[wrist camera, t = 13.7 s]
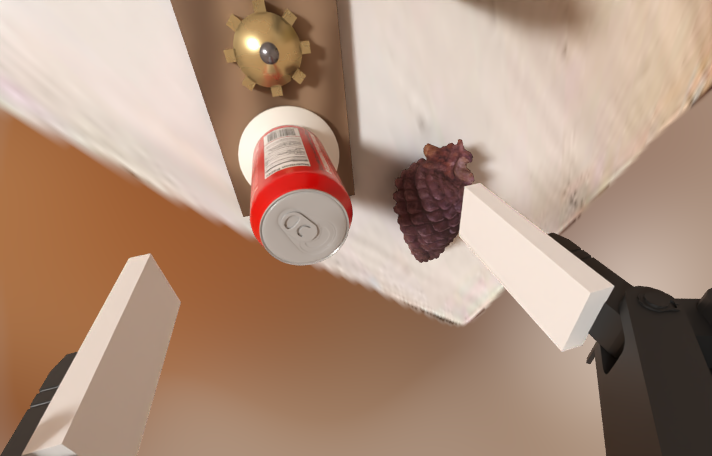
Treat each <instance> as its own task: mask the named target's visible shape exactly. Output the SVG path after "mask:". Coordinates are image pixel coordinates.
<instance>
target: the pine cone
mask: <svg viewBox="0 0 712 456" xmlns="http://www.w3.org/2000/svg"><path fill="white" fill-rule="evenodd" d="M424 155H425V156H426V158H427V160H425V159H423V158H421V159H419V160H418V161H417V163H412V164H411V165H410V168H409V169H407V170H406V169H405V170H403V171H402V173H401V178H397V179H395V186H396V187H397V189H398V191H396V192H395V193H394V194H393V199H394V200H396V201H397V203H396V205H395V207H394V208H393V209H394V212H395V213H396V214H398V215H399V216H398V220H397V221H398V223H399V224H400V230H401V231H402V232H403V234H404V240H405V242H406V243H407V244H408V246H409V249H410V250H411V254H412V255H414V257H415V258H416V260H418V261H419V262H421V263H422V262H423V261H424V262H428V260H433V258H436V259H437V258H438V257H439V256H440V253H443V252H444V250H445V247H447V246H448V245H449V243H450V242H453V239H454V238H455V237H456V236H457V234H458V233H459V229H460V220H461V212H462V204H463V195H464V187H465V186H468V185H471V184H472V183H473V182H474V176H473V173H471V172H470V170H469V169H467V168H466V166H467V165H466V163H469V162H472V158H473V156H472V154H471V153H470V152H469V151H466V150H465V149H464V146H463V142H462V140H461V139H459V140H458V143H457V145H454V144H453V143H450V144H448V145H447V146H443V147H442V148H438V147H436V146H433V145H431V144H429V143H428V144H427V145H425V147H424Z"/></svg>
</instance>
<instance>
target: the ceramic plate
mask: <svg viewBox="0 0 712 456" xmlns="http://www.w3.org/2000/svg"><path fill="white" fill-rule="evenodd" d="M282 125H296V126H300V127H303V128H305V129H307V130H309V131H311V132H312V133H313V134H314V135H316V136H317V138H318V139H319V140H320V141H321V143H322V144H323V146H324V148H325V150H326V152H327V154H328V156H329V158H330V160H331V162H332V164H333V166H334V168H335V169H336V171H337V168H338V164H339V148H338V143H337V140H336V137H335V135H334V133H333V132H332V130H331V129H330V127H329V126H328V124H327V123H326V122H325V121H324V120H323V119H322V118H321V117H320V116H318V115H317V114H315V113H314V112H312V111H310V110H308V109H305V108H302V107H299V106H293V105H282V106H276V107H272V108H269V109H266V110H265V111H263V112H261V113H259V114H258V115H257V116H255V117H254V118H253V119H252V120H251V121H250V122H249V123H248V125H247V126H246V127H245V129H244V131H243V133H242V136H241V139H240V143H239V150H238V157H239V164H240V168H241V170H242V173H243V175H244V177H245V179H246V180H247V181H248V183H249V184H250V185H251V179H252V160H253V152H254V149H255V146H256V144H257V142H258V141H259V139H260V138H261V137H262V136H263V135H264V134H265V133H266V132H267V131H269V130H271V129H272V128H275V127H278V126H282Z"/></svg>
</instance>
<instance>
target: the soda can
mask: <svg viewBox="0 0 712 456" xmlns="http://www.w3.org/2000/svg"><path fill="white" fill-rule="evenodd" d="M352 215H353V211H352V204H351V200H350V198H349V195H348V193H347V191H346V189H345V187H344V185H343V183H342V181H341V179H340V177H339V175H338V173H337V171H336V169H335V168H334V166H333V164H332V162H331V160H330V158H329V156H328V154H327V152H326V150H325V148H324V146H323V144H322V143H321V141H320V140H319V139H318V138H317V136H316V135H314V134H313V133H312V132H311V131H309V130H307V129H305V128H303V127H300V126H296V125H282V126H278V127H275V128H272V129H271V130H269V131H267V132H266V133H265V134H264V135H263V136H262V137H261V138H260V139H259V141H258V142H257V144H256V146H255V149H254V152H253V160H252V179H251V199H250V224H251V228H252V231H253V233H254V235H255V237H256V239H257V240H258V242H259V243H260V244H261V245H262V246H263V247H264V248H265V249H266V250H267V251H268V252H269V253H270V254H271V255H272V256H273V257H275V258H276V259H278V260H280V261H282V262H284V263H288V264H293V265H310V264H315V263H318V262H321V261H323V260H325V259H327V258H329V257H331V256H332V255H333V254H335V253H336V252H337V251H338V250H339V249H340V248H341V246H342V245H343V244H344V242H345V240H346V238H347V235H348V231H349V228H350V226H351V222H352Z"/></svg>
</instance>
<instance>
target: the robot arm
mask: <svg viewBox="0 0 712 456" xmlns="http://www.w3.org/2000/svg"><path fill="white" fill-rule="evenodd" d="M459 237H460V238H461V239H462V240H463V241H464V242H465V243H466V245H467V246H468V247H469V248H470V249H471V250H472V251H473V252H474V254H475V255H476V256H477V257H478V258H479V259H480V260H481V261H482V263H483V264H484V265H485V266H486V267H487V268H488V269H489V270H490V272H491V273H492V274H493V275H494V276H495V277H496V278H497V279H498V281H499V282H500V283H501V284H502V285H503V286H504V287H505V288H506V289H507V291H508V292H509V293H510V294H511V295H512V296H513V297H514V298H515V300H516V301H517V302H518V303H519V304H520V305H521V306H522V307H523V309H524V310H525V311H526V312H527V313H528V314H529V315H530V316H531V318H532V319H533V320H534V321H535V322H536V323H537V324H538V325H539V327H540V328H541V329H542V330H543V331H544V332H545V333H546V334H547V336H548V337H549V338H550V339H551V340H552V341H553V342H554V343H555V345H556V346H557V347H558V348H559V349H560V350H561V351H566V350H569V349H572V348H575V347H579V346H582V345H583V343H584V341H585V339H586V337H587V336H588V334H590V335H591V336H592V337H593V338H594V339H595V340H596V341H597V342H596V343H595V345H594V347H593V349H592V350H591V352H590V354H589V355H588V357H587V362H586V363H588V364H591V362H592V360H593V359H594V357H595V361H596V369H597V378H598V385H599V386H598V387H599V395H600V404H601V413H602V422H603V430H604V439H605V448H606V456H712V288H711V289H709V290H707V292H706V293H705V294H704V296H703V297H702V298H701V299H674V298H673V297H672V296H670V295H668V294H666V293H664V292H662V291H660V290H657V289H653V288H651V287H643V286H636V287H633V286H632V285H630V284H629V283H628V282H626V281H625V280H623V279H622V278H621V277H619V276H618V275H617V274H615V273H614V272H613V271H611V270H610V269H608V268H607V267H606V266H604V265H603V264H601V263H600V262H599V261H597V260H596V259H595V258H591V255H589V254H588V253H587V252H585V251H584V250H581V248H580V247H578V246H577V245H576V244H574V243H573V242H571V241H570V240H569V239H566V238H564V237H562V236H560V235H557V234H555V233H550V234H546V233H545V232H543V231H542V230H541V229H540V228H538V227H537V226H536V225H534V224H533V223H532V222H530V221H529V220H528V219H527V218H525V217H524V216H523V215H521V214H520V213H519V212H517V211H516V210H515V209H514V208H512V207H511V206H510V205H508V204H507V203H506V202H504V201H503V200H502V199H501V198H499V197H498V196H497V195H495V194H494V193H493V192H491V191H490V190H489V189H488V188H486V187H485V186H484V185H482V184H481V183H477V184H473V185H468V186H465V187H464V195H463V204H462V212H461V220H460V229H459ZM180 303H181V302H180V300H179V298H178V297H177V295H176V294H175V292H174V291H173V289H172V287H171V286H170V284H169V282H168V281H167V279H166V278H165V276H164V274H163V273H162V271H161V270H160V268H159V266H158V265H157V263H156V262H155V260H154V258H153V257H152V255H151V254H146V255H142V256H137V257H132V258H129V259H128V261H127V263H126V265H125V267H124V269H123V270H122V272H121V274H120V276H119V278H118V280H117V281H116V283H115V285H114V287H113V289H112V290H111V292H110V294H109V296H108V298H107V300H106V302H105V304H104V305H103V307H102V309H101V311H100V312H99V314H98V316H97V318H96V320H95V322H94V323H93V325H92V327H91V329H90V331H89V333H88V335H87V336H86V338H85V340H84V342H83V344H82V345H81V347H80V349H79V351H78V352H75V353H71V354H68V355H66V356H65V357H64V358H63V359H62V360H61V361H60V362H59V363H58V365H56V366H55V367H54V368H53V369H52V371H51V372H50V373H49V375H48V376H47V378H46V380H45V381H44V383H43V385H42V386H41V388H40V390H39V391H40V393H39V394H37V395H36V397H35V398H34V400H33V402H32V403H31V408H30V409H28V410H27V412H26V413H25V415H24V417H23V418H22V420H21V422H20V423H19V425H18V427H17V429H16V430H15V432H14V434H13V435H12V437H11V439H10V440H9V442H8V444H7V445H6V447H5V449H4V450H3V452H2V454H1V455H0V456H137V454H138V450H139V447H140V444H141V440H142V437H143V433H144V429H145V426H146V423H147V419H148V415H149V412H150V408H151V405H152V401H153V398H154V394H155V391H156V387H157V383H158V380H159V376H160V373H161V370H162V366H163V363H164V359H165V356H166V352H167V349H168V345H169V342H170V338H171V334H172V331H173V327H174V324H175V320H176V317H177V313H178V310H179V306H180Z"/></svg>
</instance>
